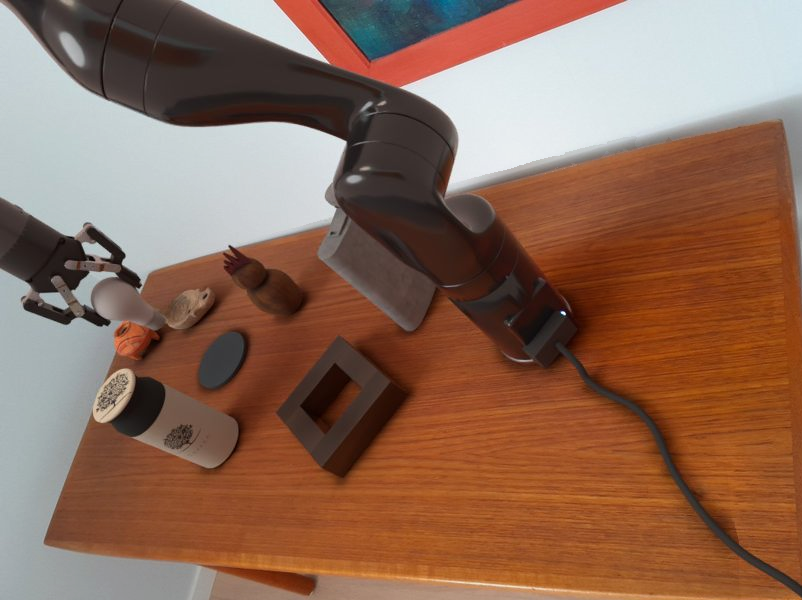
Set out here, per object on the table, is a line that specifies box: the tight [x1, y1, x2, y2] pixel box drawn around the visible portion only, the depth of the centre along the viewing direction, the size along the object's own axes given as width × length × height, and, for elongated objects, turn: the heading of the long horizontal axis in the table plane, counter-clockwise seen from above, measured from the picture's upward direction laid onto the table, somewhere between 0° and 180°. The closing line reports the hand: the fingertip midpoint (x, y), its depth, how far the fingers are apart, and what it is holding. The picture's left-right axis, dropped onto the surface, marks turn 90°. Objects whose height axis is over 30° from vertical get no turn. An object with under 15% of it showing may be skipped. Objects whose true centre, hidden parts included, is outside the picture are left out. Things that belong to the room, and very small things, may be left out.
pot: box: [113, 321, 160, 361], centre depth 119 cm, size 8×8×7 cm
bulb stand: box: [275, 334, 410, 479], centre depth 85 cm, size 13×13×4 cm
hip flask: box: [317, 182, 437, 332], centre depth 83 cm, size 16×4×20 cm, turn 164°
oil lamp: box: [154, 287, 216, 330], centre depth 116 cm, size 13×8×5 cm, turn 92°
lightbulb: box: [90, 276, 166, 331], centre depth 94 cm, size 6×6×11 cm
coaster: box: [198, 331, 248, 390], centre depth 107 cm, size 10×10×1 cm
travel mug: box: [92, 367, 239, 469], centre depth 91 cm, size 8×8×18 cm
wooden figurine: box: [222, 244, 303, 317], centre depth 99 cm, size 7×6×15 cm
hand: (123, 303), depth 93 cm, fingers closed on lightbulb, 6 cm apart
